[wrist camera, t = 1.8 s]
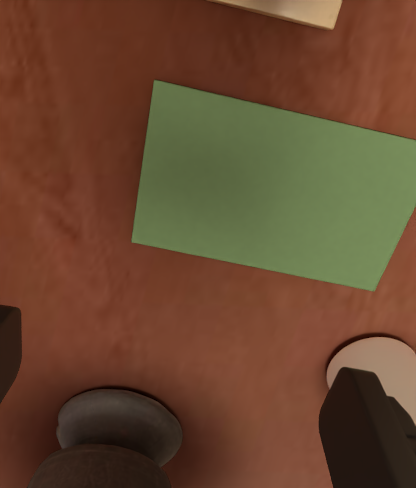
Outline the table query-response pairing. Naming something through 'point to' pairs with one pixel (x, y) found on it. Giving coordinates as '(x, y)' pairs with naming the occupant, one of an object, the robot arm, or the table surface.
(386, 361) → the beverage can
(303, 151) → the felt mat
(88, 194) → the table surface
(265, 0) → the stand
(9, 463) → the table surface
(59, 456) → the vase
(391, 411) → the robot arm
